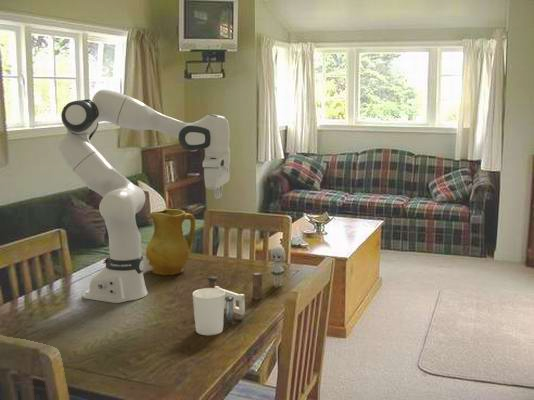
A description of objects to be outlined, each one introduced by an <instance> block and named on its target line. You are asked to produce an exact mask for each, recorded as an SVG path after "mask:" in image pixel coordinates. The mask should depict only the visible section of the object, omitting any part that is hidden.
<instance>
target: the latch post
mask: <svg viewBox="0 0 534 400" xmlns="http://www.w3.org/2000/svg"><path fill="white" fill-rule="evenodd" d="M225 300H226V309H225V323H227V324H232V323H234V312H233V300H234V297H232V296H227V297H225Z"/></svg>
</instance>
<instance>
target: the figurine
mask: <svg viewBox="0 0 534 400" xmlns="http://www.w3.org/2000/svg"><path fill="white" fill-rule="evenodd" d="M269 255H270V261H271V262H270V263H269V264H267V265H266V266H265V268H267V269H268V267H270V266H273V265H274V266H273V267H272V269H271V274H272V275H273V276H272V277H273V286H276V284H277V276H278V278H279V281H280V282H279V287H281V286H282V285H283V275H284V274H285V270H284V268H287V270H288V271H292V269H291V268H290V266H289V267H288V265H287V264H286V263H285V261H286V260H287V256H286V251H285V248H284V247H283V246H281V245H275V246H273V247H272V248H271V250H270V252H269ZM272 260H273V261H272ZM283 267H284V268H283Z"/></svg>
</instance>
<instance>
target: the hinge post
mask: <svg viewBox="0 0 534 400" xmlns="http://www.w3.org/2000/svg"><path fill="white" fill-rule="evenodd" d="M217 278H218V277H217V276H208V277H207V281H208V288H214V287H215V286H217Z"/></svg>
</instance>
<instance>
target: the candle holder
mask: <svg viewBox="0 0 534 400" xmlns="http://www.w3.org/2000/svg"><path fill="white" fill-rule="evenodd" d="M224 297H225V292H224V291H223V290H221V289H217V288H209V287H205V288H200V289H199V288H198V289H196V290H194V291H193V292H192V303H193V314H194V315H193V316H194V323H195V324H194V325H195V326H194V327H195V331H196V333H197V334H199V335H201V336H202V335H203V336H216V335H219V334H221V333H222V332H223V330H224V322H225V321H224V318H225V316H224V315H225V309H224Z"/></svg>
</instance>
